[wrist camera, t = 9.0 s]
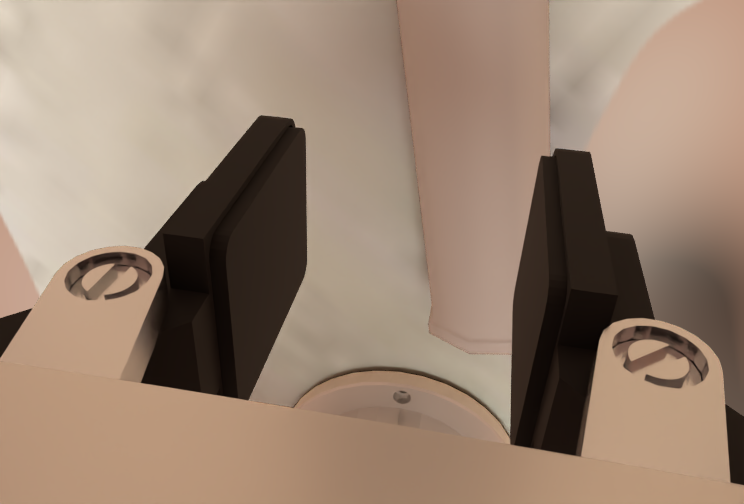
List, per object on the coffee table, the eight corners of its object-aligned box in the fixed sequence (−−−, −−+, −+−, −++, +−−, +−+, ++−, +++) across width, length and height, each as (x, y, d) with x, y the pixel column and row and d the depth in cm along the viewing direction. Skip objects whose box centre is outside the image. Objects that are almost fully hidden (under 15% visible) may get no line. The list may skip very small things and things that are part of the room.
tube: (280, -545, 15) (407, 340, 28) (512, -661, 13) (536, 370, 26) (391, -485, 19) (458, 270, 32) (587, -565, 17) (575, 291, 29)
